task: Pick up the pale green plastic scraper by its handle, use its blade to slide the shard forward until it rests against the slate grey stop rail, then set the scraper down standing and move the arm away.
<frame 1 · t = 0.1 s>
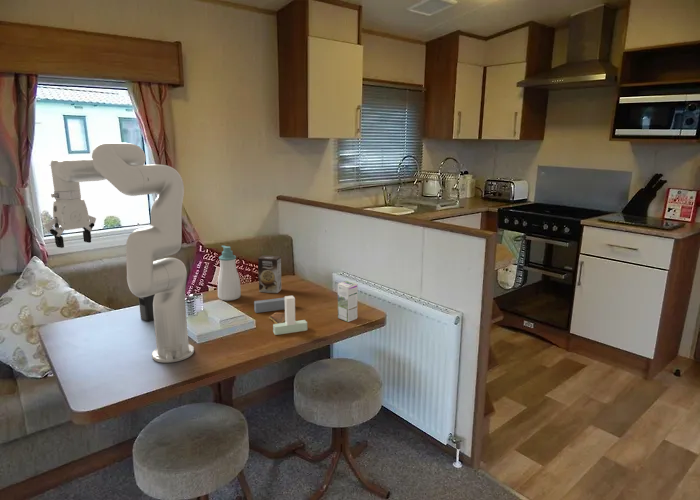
hand: (74, 244, 159), 31 cm above the table, tool pointing down, fingers open, 9 cm apart
soap bottle: (229, 297, 200), on the table
wine bottle: (150, 318, 176), on the table
shard: (282, 321, 176), on the table
coffee box: (270, 291, 210), on the table
scraper: (290, 331, 165), on the table
syrup box: (347, 319, 177), on the table
stop rail: (274, 309, 187), on the table
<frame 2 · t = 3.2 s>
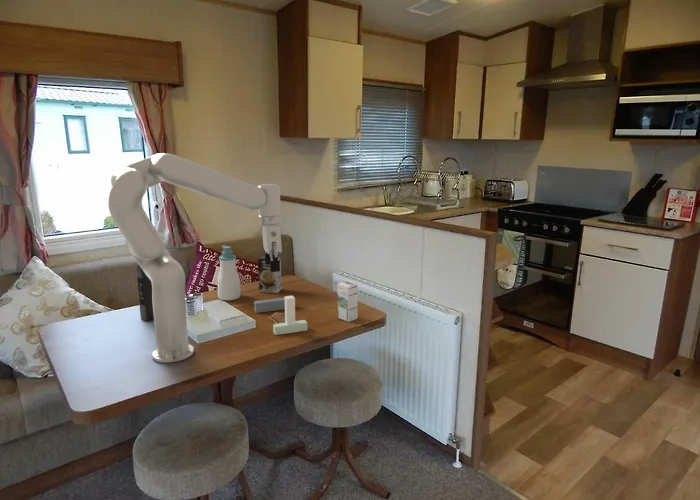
hand: (272, 267, 160), 24 cm above the table, tool pointing down, fingers open, 9 cm apart
nothing on the table moved.
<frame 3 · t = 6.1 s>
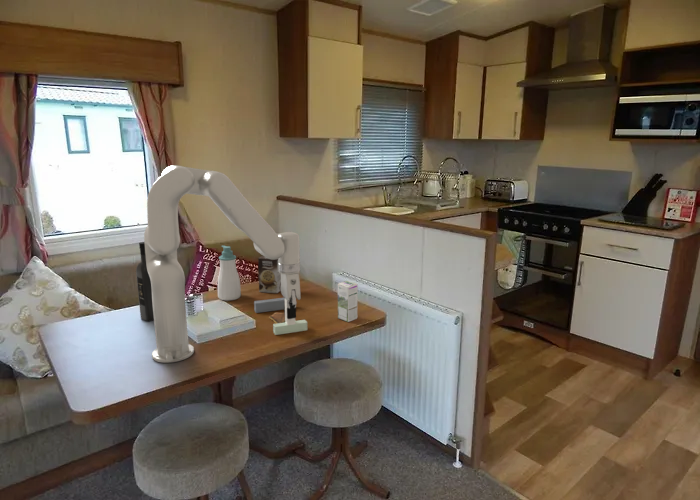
hand: (290, 316, 164), 6 cm above the table, tool pointing down, fingers closed on scraper, 3 cm apart
scraper: (290, 330, 165), on the table, touching gripper
everything else where it was.
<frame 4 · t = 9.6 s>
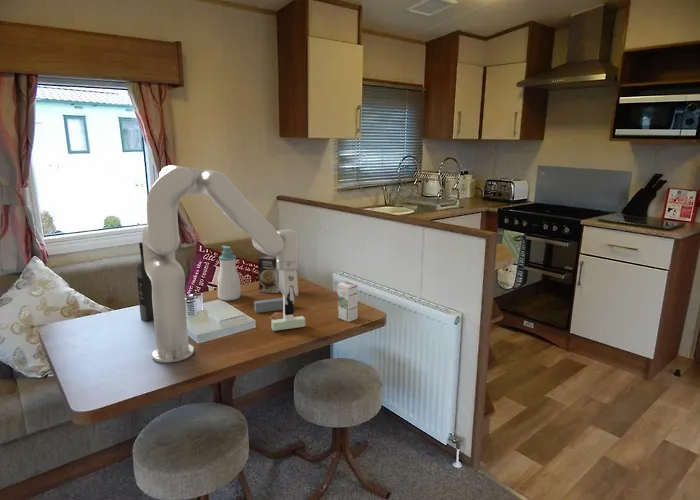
hand: (288, 312, 166), 6 cm above the table, tool pointing down, fingers closed on scraper, 3 cm apart
scraper: (288, 327, 167), point 1 cm above the table, touching gripper
everything else where it was.
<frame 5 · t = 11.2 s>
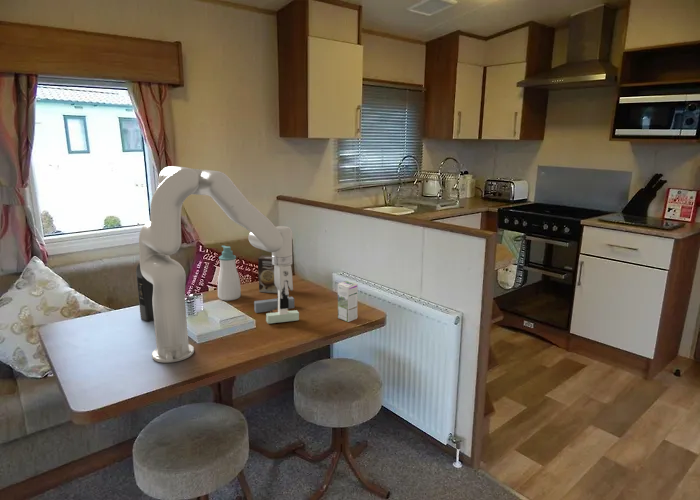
hand: (283, 306, 172), 6 cm above the table, tool pointing down, fingers closed on scraper, 3 cm apart
shard: (281, 316, 180), on the table
scraper: (282, 320, 173), point 1 cm above the table, touching gripper
everything else where it was.
when the fingers open (7 cm above the table, at t = 13.0 s): scraper drops 1 cm, on the table.
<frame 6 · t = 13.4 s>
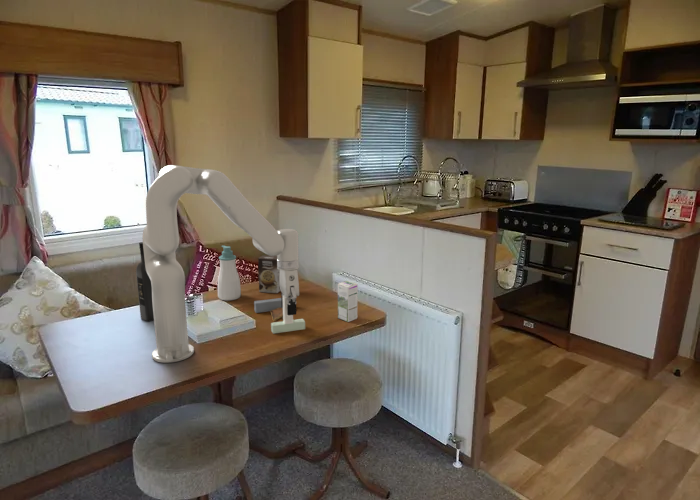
hand: (288, 310, 165), 7 cm above the table, tool pointing down, fingers open, 7 cm apart
scraper: (288, 329, 166), on the table
everything else where it was.
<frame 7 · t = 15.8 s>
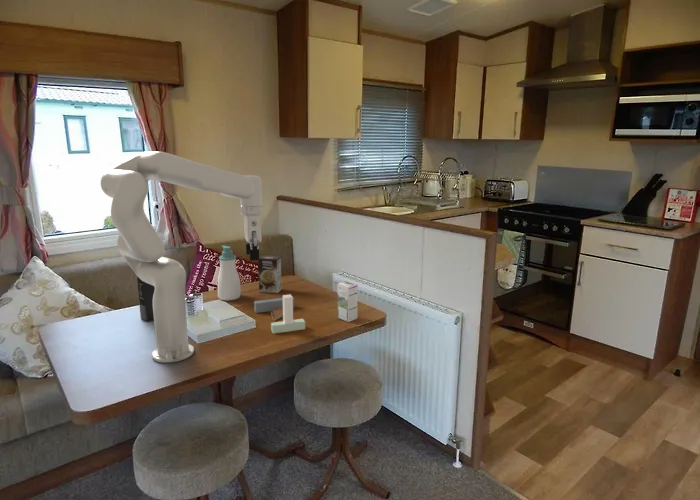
hand: (252, 257, 165), 26 cm above the table, tool pointing down, fingers open, 9 cm apart
nothing on the table moved.
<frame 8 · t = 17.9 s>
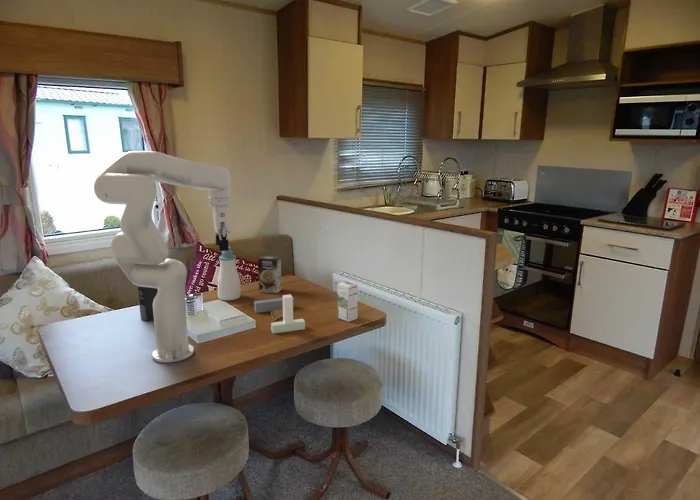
hand: (222, 247, 170), 28 cm above the table, tool pointing down, fingers open, 9 cm apart
nothing on the table moved.
at the end: shard 1.0 cm from the target spot, on the table; the gripper is holding nothing; scraper tilted 0° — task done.
